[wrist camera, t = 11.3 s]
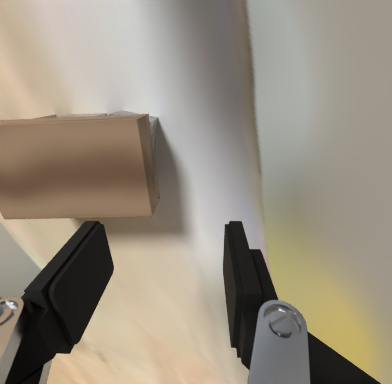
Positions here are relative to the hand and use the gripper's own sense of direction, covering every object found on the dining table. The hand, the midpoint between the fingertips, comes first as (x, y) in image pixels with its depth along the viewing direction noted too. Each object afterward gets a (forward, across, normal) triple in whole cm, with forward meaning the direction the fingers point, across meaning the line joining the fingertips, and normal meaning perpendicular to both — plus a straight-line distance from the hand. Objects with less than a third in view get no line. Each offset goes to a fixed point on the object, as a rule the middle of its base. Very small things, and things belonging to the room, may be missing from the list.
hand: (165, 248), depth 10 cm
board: (+14, +11, 0) cm, 17 cm away
